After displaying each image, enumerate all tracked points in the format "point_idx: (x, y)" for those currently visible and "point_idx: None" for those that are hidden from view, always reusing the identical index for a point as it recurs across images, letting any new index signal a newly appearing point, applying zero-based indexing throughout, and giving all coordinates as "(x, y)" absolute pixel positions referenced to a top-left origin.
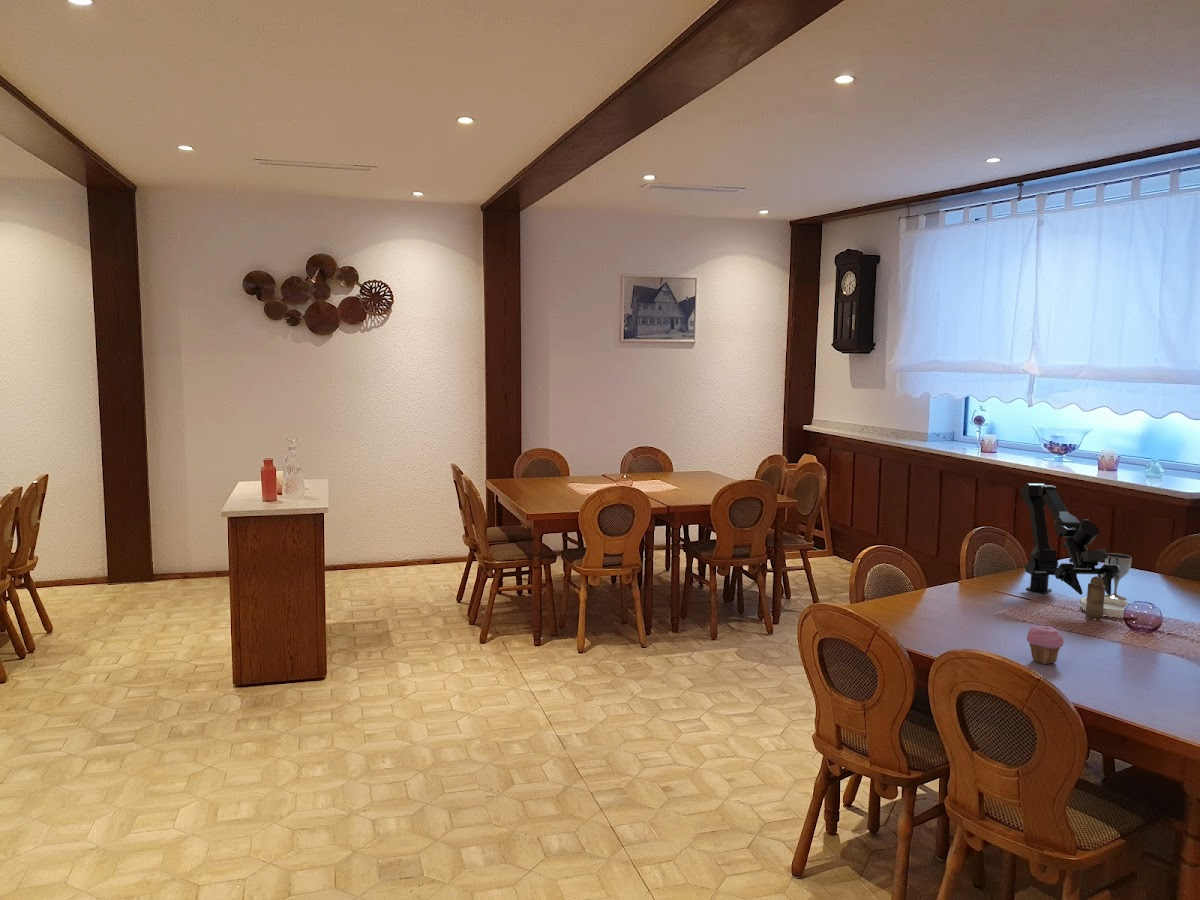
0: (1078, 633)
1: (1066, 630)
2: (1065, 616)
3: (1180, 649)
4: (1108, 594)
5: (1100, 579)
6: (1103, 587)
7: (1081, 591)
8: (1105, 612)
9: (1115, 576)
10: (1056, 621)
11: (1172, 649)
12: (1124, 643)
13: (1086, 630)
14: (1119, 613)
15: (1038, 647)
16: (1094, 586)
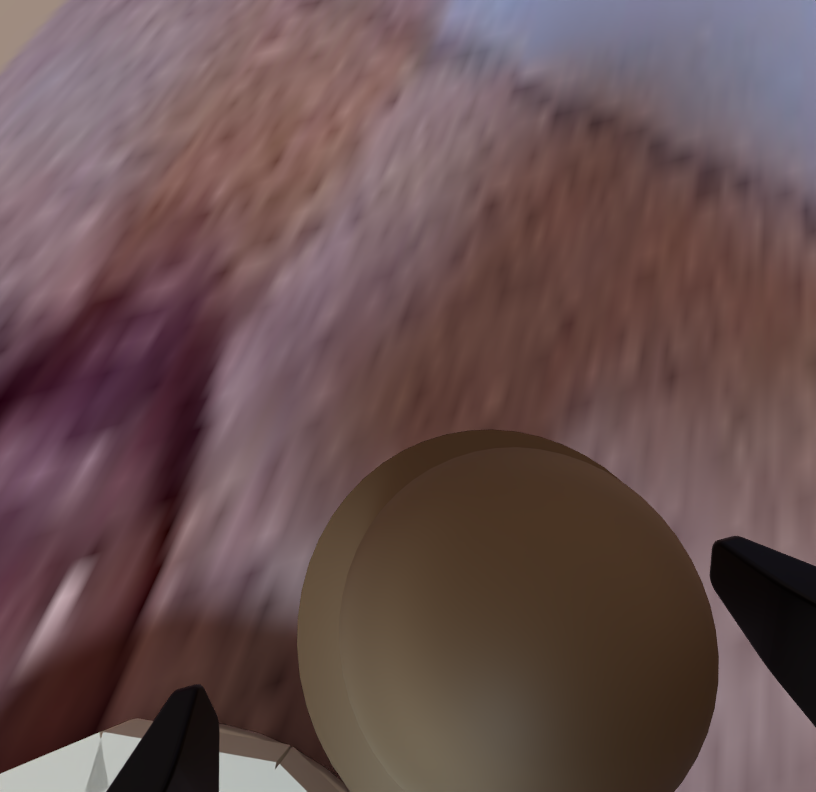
0: (655, 142)
1: (729, 182)
2: (710, 604)
3: (109, 13)
4: (215, 722)
5: (469, 485)
6: (385, 463)
7: (751, 547)
8: (280, 746)
9: None
10: (796, 393)
11: (161, 4)
12: (410, 34)
13: (588, 219)
14: (128, 721)
15: None
16: (583, 456)
